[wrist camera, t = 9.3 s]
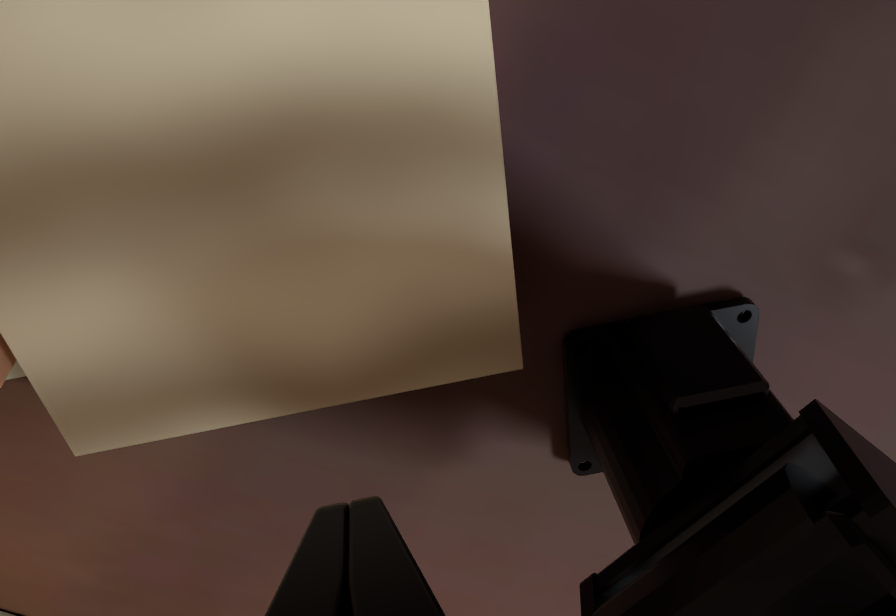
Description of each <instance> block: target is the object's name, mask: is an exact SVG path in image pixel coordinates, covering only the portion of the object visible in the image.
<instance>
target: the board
mask: <svg viewBox="0 0 896 616" xmlns="http://www.w3.org/2000/svg"><path fill="white" fill-rule="evenodd" d="M0 333H1V335H2V336H3V338H4V340H5V341H6V343H7V345H8V346H9V348H10V350H11V351H12V353H13V355H14V356H15V358H16V359H17V361H18V363H19V364H20V366H21V368H22V369H23V371H24V373H25V374H26V376H27V378H28V379H29V381H30V383H31V384H32V386H33V388H34V389H35V391H36V392H37V394H38V396H39V397H40V399H41V401H42V402H43V404H44V406H45V407H46V409H47V411H48V412H49V414H50V416H51V417H52V419H53V421H54V422H55V424H56V425H57V427H58V429H59V430H60V432H61V434H62V435H63V437H64V439H65V440H66V442H67V444H68V445H69V447H70V449H71V450H72V452H73V454H74V455H75V456H80V455H85V454H90V453H95V452H100V451H105V450H111V449H116V448H121V447H126V446H131V445H136V444H141V443H146V442H151V441H156V440H162V439H167V438H172V437H177V436H182V435H187V434H192V433H197V432H202V431H208V430H213V429H218V428H223V427H228V426H233V425H238V424H243V423H248V422H253V421H259V420H264V419H269V418H274V417H279V416H284V415H289V414H294V413H299V412H304V411H310V410H315V409H320V408H325V407H330V406H335V405H340V404H345V403H350V402H356V401H361V400H366V399H371V398H376V397H381V396H386V395H391V394H396V393H401V392H407V391H412V390H417V389H422V388H427V387H432V386H437V385H442V384H447V383H452V382H458V381H463V380H468V379H473V378H478V377H483V376H488V375H493V374H498V373H503V372H509V371H514V370H519V369H523V360H522V349H521V339H520V328H519V318H518V307H517V297H516V286H515V276H514V265H513V255H512V244H511V234H510V223H509V213H508V202H507V192H506V181H505V171H504V160H503V150H502V139H501V129H500V118H499V108H498V97H497V87H496V76H495V66H494V55H493V45H492V34H491V24H490V13H489V3H488V0H0Z"/></svg>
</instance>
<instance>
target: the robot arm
mask: <svg viewBox="0 0 896 616" xmlns="http://www.w3.org/2000/svg"><path fill="white" fill-rule="evenodd" d="M742 311H745V312H744V313H743V314H742V315H740V316H738V315H739V314H740V313H741V312H742ZM758 320H759V309H758V308H757V306H756V305H755V304H754V303H753V302H752V301H751V300H750V299H749V298H746V297H741V298H735V299H730V300H725V301H720V302H715V303H709V304H704V305H699V306H694V307H689V308H683V309H678V310H673V311H668V312H663V313H658V314H652V315H647V316H642V317H637V318H632V319H627V320H622V321H617V322H612V323H607V324H601V325H596V326H591V327H586V328H581V329H576V330H573V331H571V332H570V333H568V334H567V335H566V336H565V338H564V339H563V344H562V347H563V365H564V384H565V402H566V421H567V439H568V458H569V463H570V466H571V469H572V471H573V473H575V474H576V475H579V476H584V475H590V474H595V473H600V472H604V474H605V477H606V479H607V481H608V484H609V486H610V488H611V491H612V493H613V495H614V498H615V500H616V502H617V504H618V507H619V509H620V511H621V514H622V516H623V518H624V521H625V523H626V525H627V528H628V530H629V532H630V535H631V537H632V539H633V542H634V544H635V545H634V546H633V547H631V548H630V549H629V550H627V551H626V552H625V553H624V554H622V555H621V556H620V557H618V558H617V559H616V560H615V561H613V562H612V563H611V564H610V565H608V566H607V567H606V568H604V569H603V570H602V571H601V572H599V573H598V574H596V573H593V574H591V575H590V576H589V577H588V578H586V579H585V580H584V581H583V582H581V583H580V600H581V616H896V463H895V462H894V461H893V460H891V459H890V458H889V457H888V456H886V455H885V454H884V453H883V452H881V451H880V450H879V449H878V448H876V447H875V446H874V445H873V444H871V443H870V442H869V441H868V440H866V439H865V438H864V437H863V436H861V435H860V434H859V433H858V432H856V431H855V430H854V429H853V428H851V427H850V426H849V425H848V424H846V423H845V422H844V421H843V420H842V419H840V418H839V417H838V416H837V415H835V414H834V413H833V412H832V411H830V410H829V409H828V408H827V407H825V406H824V405H823V404H822V403H820V402H819V401H818V400H816V399H814V400H813V401H812V402H810V403H809V404H808V405H807V406H805V407H804V408H803V409H801V410H800V411H799V413H800V416H799V417H797V418H796V419H795V420H794V419H793V418H792V417H791V416H790V414H789V413H788V412H787V411H786V409H785V408H784V407H783V405H782V404H781V403H780V402H779V400H778V399H777V398H776V397H775V395H774V394H773V393H772V392H771V390H770V389H769V384H768V382H767V381H766V379H765V378H764V377H763V376H762V374H761V373H760V372H759V371H758V369H757V368H756V367H755V366H754V364H753V356H754V349H755V341H756V334H757V327H758ZM580 342H584V344H583V345H582V346H580V347H578V348H574V346H575V345H576V344H578V343H580ZM584 461H586V462H584ZM581 462H584V463H581ZM265 616H445V614H444V612H443V610H442V608H441V607H440V605H439V603H438V601H437V599H436V598H435V596H434V594H433V592H432V590H431V589H430V587H429V585H428V583H427V581H426V579H425V578H424V576H423V574H422V572H421V570H420V569H419V567H418V565H417V563H416V561H415V560H414V558H413V556H412V554H411V552H410V550H409V549H408V547H407V545H406V543H405V541H404V540H403V538H402V536H401V534H400V532H399V531H398V529H397V527H396V525H395V523H394V521H393V520H392V518H391V516H390V514H389V512H388V511H387V509H386V507H385V505H384V503H383V502H382V500H381V498H379V497H378V496H372V497H367V498H362V499H357V500H353V501H352V502H351V503H350V505H348V504H347V503H343V502H342V503H337V504H332V505H327V506H323V507H320V508H318V509H317V510H316V511H315V513H314V515H313V517H312V519H311V521H310V523H309V525H308V528H307V530H306V532H305V534H304V536H303V538H302V540H301V542H300V544H299V546H298V548H297V550H296V552H295V554H294V557H293V559H292V561H291V563H290V565H289V567H288V569H287V571H286V573H285V575H284V577H283V579H282V581H281V583H280V585H279V588H278V590H277V592H276V594H275V596H274V598H273V600H272V602H271V604H270V606H269V608H268V610H267V612H266V614H265Z"/></svg>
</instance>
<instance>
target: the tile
mask: <svg viewBox="0 0 896 616" xmlns="http://www.w3.org/2000/svg"><path fill="white" fill-rule="evenodd" d="M16 361H17V359H16V358H15V356H14V355H13V353H12V351H11V350H10V348H9V346H8V345H7V343H6V341H5V340H4V338H3V336H2V335H1V333H0V388H1V387H2V385H3V383H4V381H5V380H6V378H7V376H8V374H9V373H10V371H11V369H12V368H13V366H14V364H15V362H16Z"/></svg>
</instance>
